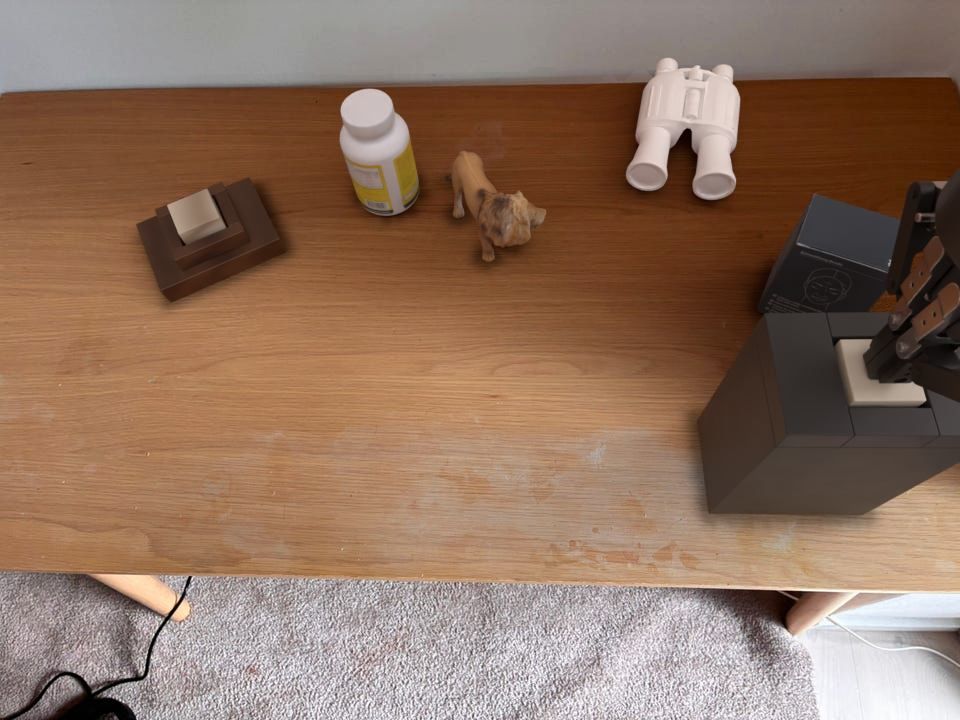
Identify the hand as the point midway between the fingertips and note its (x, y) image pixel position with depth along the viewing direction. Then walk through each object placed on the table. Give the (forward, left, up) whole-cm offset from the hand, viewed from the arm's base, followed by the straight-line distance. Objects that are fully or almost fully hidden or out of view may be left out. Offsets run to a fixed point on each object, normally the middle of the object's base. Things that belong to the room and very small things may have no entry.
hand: (882, 369), depth 40 cm
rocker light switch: (-34, +45, -18) cm, 59 cm away
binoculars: (+14, +33, -18) cm, 40 cm away
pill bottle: (-16, +42, -18) cm, 49 cm away
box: (+12, +11, -18) cm, 25 cm away
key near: (0, 0, -1) cm, 1 cm away
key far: (-34, +45, -15) cm, 58 cm away
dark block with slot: (0, 0, -18) cm, 18 cm away
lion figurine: (-9, +33, -18) cm, 39 cm away
